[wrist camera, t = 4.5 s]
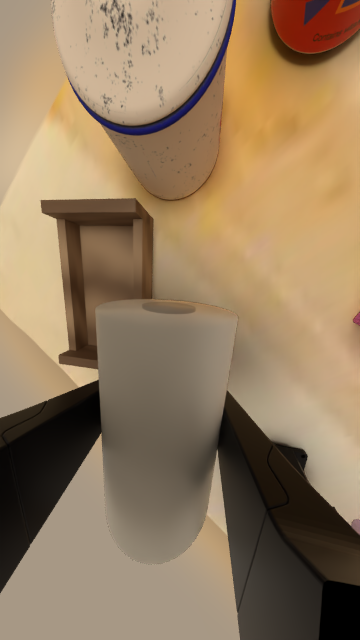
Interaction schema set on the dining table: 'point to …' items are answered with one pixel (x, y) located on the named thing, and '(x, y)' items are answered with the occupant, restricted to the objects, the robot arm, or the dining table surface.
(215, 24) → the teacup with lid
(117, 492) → the roll
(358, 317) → the gum box
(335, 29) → the soda can
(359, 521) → the clip
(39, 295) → the dining table surface
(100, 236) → the wooden tray
